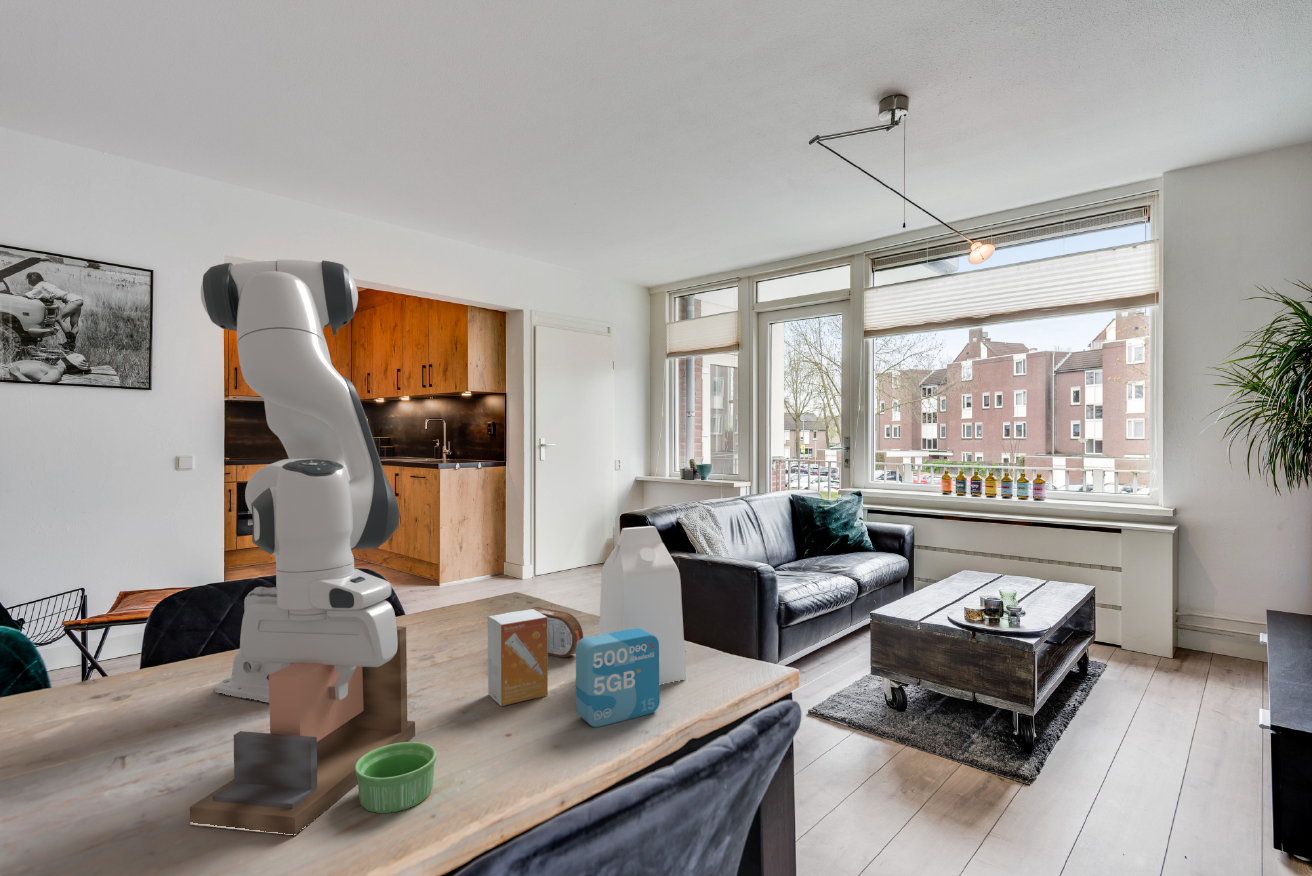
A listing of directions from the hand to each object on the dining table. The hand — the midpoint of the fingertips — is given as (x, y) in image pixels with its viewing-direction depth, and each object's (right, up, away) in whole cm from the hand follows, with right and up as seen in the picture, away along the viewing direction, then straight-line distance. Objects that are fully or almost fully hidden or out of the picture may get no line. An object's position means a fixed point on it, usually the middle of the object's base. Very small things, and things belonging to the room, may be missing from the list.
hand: (319, 697), depth 84 cm
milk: (+40, -9, +33) cm, 53 cm away
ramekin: (+12, -10, -6) cm, 16 cm away
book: (0, -4, 0) cm, 4 cm away
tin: (+22, -9, +45) cm, 51 cm away
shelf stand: (0, -10, 0) cm, 10 cm away
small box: (+20, -9, +24) cm, 33 cm away
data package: (+37, -9, +16) cm, 41 cm away
